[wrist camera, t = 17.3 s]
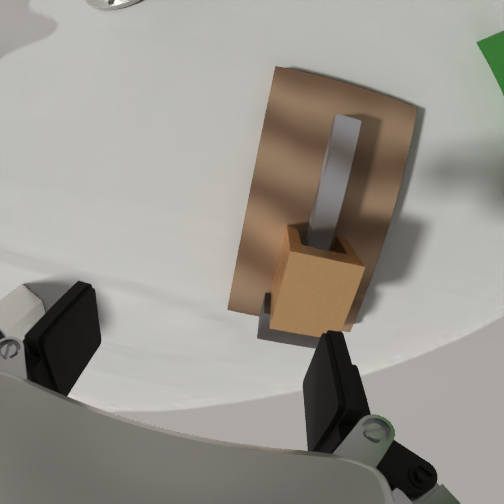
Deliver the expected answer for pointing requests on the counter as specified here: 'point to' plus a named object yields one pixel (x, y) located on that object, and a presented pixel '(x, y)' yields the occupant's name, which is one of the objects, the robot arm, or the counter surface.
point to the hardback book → (494, 55)
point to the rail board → (302, 172)
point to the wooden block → (313, 286)
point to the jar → (19, 312)
